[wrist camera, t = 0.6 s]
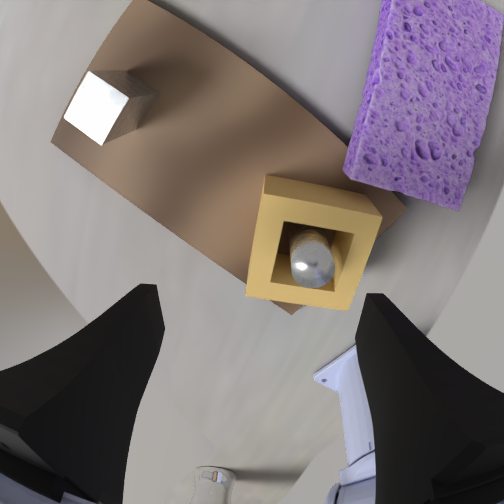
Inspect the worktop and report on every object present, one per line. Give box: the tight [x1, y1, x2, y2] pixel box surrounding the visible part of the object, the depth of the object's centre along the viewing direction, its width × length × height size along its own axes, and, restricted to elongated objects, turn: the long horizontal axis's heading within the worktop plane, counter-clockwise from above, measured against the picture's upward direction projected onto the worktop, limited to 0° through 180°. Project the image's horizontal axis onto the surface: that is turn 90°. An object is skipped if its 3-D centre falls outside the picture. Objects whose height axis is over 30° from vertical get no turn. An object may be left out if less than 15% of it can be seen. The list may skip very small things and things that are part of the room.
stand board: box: [51, 0, 407, 315], centre depth 15 cm, size 19×10×5 cm, turn 51°
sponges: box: [342, 0, 504, 211], centre depth 13 cm, size 7×13×2 cm, turn 168°
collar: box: [245, 175, 383, 311], centre depth 17 cm, size 6×6×3 cm
